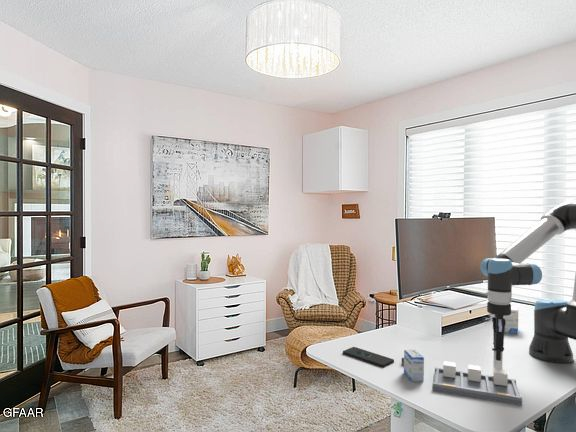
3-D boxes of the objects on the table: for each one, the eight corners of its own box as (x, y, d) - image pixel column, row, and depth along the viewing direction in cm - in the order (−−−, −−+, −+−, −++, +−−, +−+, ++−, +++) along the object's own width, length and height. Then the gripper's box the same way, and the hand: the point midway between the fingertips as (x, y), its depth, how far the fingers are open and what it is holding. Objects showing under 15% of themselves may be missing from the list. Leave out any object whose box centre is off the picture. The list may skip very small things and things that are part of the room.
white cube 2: (480, 377, 139) (480, 366, 139) (480, 382, 136) (481, 370, 136) (467, 375, 141) (467, 364, 141) (468, 380, 137) (468, 368, 137)
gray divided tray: (515, 385, 136) (515, 378, 136) (522, 405, 123) (522, 398, 123) (435, 373, 147) (435, 366, 147) (432, 390, 133) (432, 383, 133)
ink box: (518, 329, 199) (518, 306, 199) (517, 334, 192) (518, 310, 191) (499, 327, 203) (499, 304, 203) (497, 331, 196) (497, 307, 196)
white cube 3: (455, 373, 142) (455, 362, 142) (455, 378, 139) (455, 366, 139) (443, 371, 144) (443, 361, 144) (443, 376, 140) (443, 365, 140)
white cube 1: (506, 381, 136) (506, 369, 136) (507, 386, 133) (507, 374, 132) (493, 379, 138) (493, 368, 138) (494, 384, 134) (494, 372, 134)
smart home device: (354, 346, 171) (394, 359, 157) (354, 350, 172) (394, 363, 157) (341, 350, 166) (383, 364, 151) (341, 355, 166) (383, 369, 151)
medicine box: (403, 372, 147) (403, 349, 147) (415, 372, 148) (415, 349, 147) (411, 381, 139) (412, 357, 139) (424, 381, 140) (424, 357, 139)
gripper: (486, 297, 149) (484, 360, 149) (488, 305, 137) (487, 373, 137) (508, 299, 146) (507, 363, 146) (513, 307, 134) (512, 377, 134)
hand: (497, 368), depth 142 cm, fingers closed
